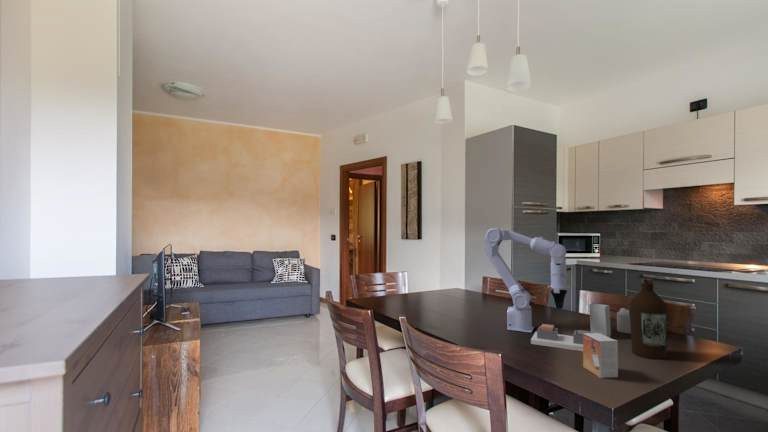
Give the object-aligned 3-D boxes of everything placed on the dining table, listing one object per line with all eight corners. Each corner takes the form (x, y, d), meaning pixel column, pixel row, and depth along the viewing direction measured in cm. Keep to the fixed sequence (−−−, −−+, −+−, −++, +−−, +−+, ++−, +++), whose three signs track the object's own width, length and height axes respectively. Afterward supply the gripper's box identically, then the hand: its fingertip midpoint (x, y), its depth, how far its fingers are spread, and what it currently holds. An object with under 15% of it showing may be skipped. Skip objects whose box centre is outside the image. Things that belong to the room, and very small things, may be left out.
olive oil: (624, 348, 131) (623, 276, 132) (659, 350, 129) (657, 277, 129) (637, 358, 121) (636, 281, 121) (675, 361, 119) (673, 282, 119)
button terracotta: (541, 335, 139) (540, 326, 139) (542, 333, 142) (542, 323, 142) (552, 337, 137) (552, 327, 137) (553, 334, 140) (553, 325, 140)
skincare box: (611, 336, 145) (610, 305, 145) (606, 338, 142) (606, 306, 142) (594, 333, 150) (593, 302, 150) (589, 335, 147) (588, 304, 147)
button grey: (577, 342, 133) (577, 332, 133) (578, 339, 136) (577, 329, 136) (590, 344, 131) (590, 334, 131) (590, 341, 134) (590, 331, 134)
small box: (582, 367, 114) (582, 332, 114) (600, 366, 114) (599, 332, 115) (600, 378, 106) (599, 341, 106) (618, 377, 106) (618, 340, 107)
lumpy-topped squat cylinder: (614, 330, 153) (613, 309, 153) (625, 325, 161) (625, 304, 161) (644, 336, 145) (643, 314, 145) (654, 330, 153) (653, 308, 153)
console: (530, 343, 137) (530, 331, 137) (535, 335, 147) (535, 323, 147) (600, 353, 126) (600, 340, 126) (600, 343, 136) (600, 331, 136)
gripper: (567, 277, 141) (568, 313, 141) (571, 272, 154) (572, 305, 154) (547, 276, 145) (548, 311, 145) (552, 271, 158) (553, 304, 157)
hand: (559, 308), depth 149 cm, fingers closed
